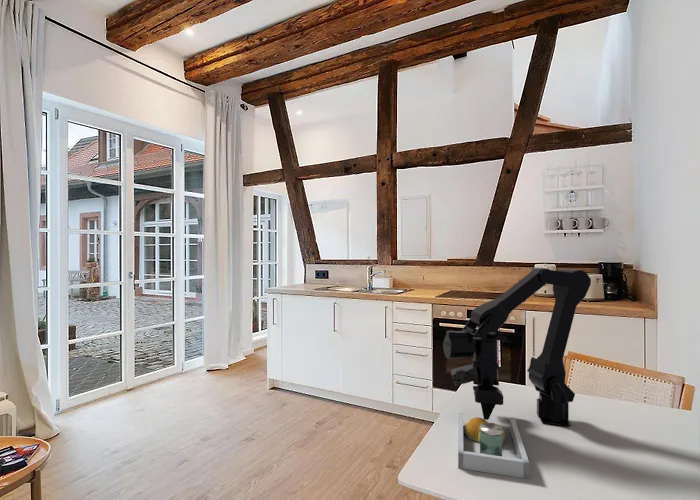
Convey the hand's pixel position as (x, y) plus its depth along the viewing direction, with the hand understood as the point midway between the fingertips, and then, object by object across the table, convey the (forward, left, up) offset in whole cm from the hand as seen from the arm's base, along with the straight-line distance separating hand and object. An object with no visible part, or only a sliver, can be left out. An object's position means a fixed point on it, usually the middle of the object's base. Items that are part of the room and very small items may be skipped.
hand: (485, 419), depth 97 cm
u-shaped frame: (0, +13, -1) cm, 13 cm away
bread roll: (+1, +8, -1) cm, 8 cm away
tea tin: (0, +17, -1) cm, 17 cm away
